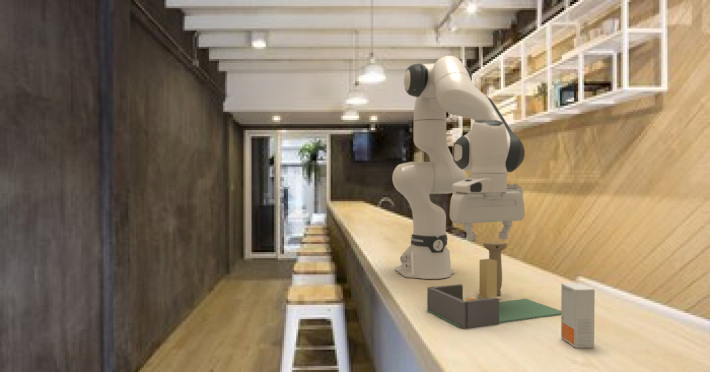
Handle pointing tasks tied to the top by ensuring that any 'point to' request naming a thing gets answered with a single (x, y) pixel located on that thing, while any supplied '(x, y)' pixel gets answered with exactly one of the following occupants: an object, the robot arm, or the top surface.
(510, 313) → the pitch
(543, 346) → the top surface
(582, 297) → the skincare box
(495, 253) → the handle
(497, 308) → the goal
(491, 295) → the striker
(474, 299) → the ball
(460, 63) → the robot arm
